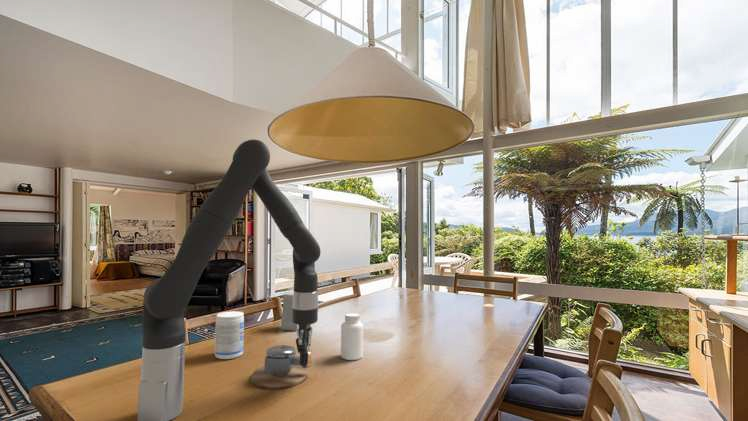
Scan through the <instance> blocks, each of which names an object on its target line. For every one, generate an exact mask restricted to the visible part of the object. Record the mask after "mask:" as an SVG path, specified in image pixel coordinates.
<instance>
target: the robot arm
mask: <svg viewBox="0 0 748 421" xmlns="http://www.w3.org/2000/svg"><path fill="white" fill-rule="evenodd" d="M270 160H271V153H270V149H269V146H267V144H265V143H264V142H263V141H261V140H259V139H248V140H244V141H243V142H241V143H240V144H239V145H238V147H236V149H235V151H234V152H233V155H232V161H231V164H230V165H229V167H228V169H227V171H226V173H225V175H224V176H223V178H222V179H221V180H220V181H219V183H218V184H217V185H216V186H215V188H213V190H212V191H211V192H210V193H209V195H208V196H207V197H206V198H205V200H204V201H203V203H202V204H201V205H200V207H199V208H198V209H197V211H196V213H195V214H194V216H193V217H192V219H191V221H190V223H189V225H188V227H187V229H186V231H185V233H184V236H183V238H182V240H181V243H180V246H179V249H178V252H177V254H176V256H175V258H174V259H173V261H172V262H171V264H170V266H169V267H168V268H167V269H166V271H165V273H164V274H163V275H162V276H161V277H160V278H157V279H154V280H153V281H152V282H150V283H149V284H148V285H147V286H146V288H145V290H144V294H143V300H142V301H143V302H142V307H143V308H142V328H141V329H142V352H141V353H142V354H141V368H140V369H141V372H140V374H141V375H140V382H139V383H138V395H137V396H138V398H137V399H138V401H137V418H136V419H137V421H171V420H174V419H176V418H177V417H179V416H180V415H181V414H182V413H183V411H184V384H185V379H184V378H185V359H186V358H185V357H186V356H185V355H186V354H185V353H186V336H187V333H186V332H187V331H186V325H185V310H186V308H187V306H188V305H189V303H190V300H191V298H192V295H193V293H194V291H195V289H196V287H197V284H198V282H199V280H200V278H201V276H202V274H203V273H204V270H205V269H206V267H207V266H208V264H210V261H211V260H212V258H213V257H214V255H215V254H216V253H217V251H218V249H219V248H220V246H221V244H222V243H223V241H224V240H225V238H226V236H227V234H228V233H229V231H230V230H231V228H232V226H233V224H234V222H235V220H236V218H238V217H237V216H238V215H239V212H240V210H241V209H242V207H243V206H244V205H243V204H244V202H245V200H246V198H247V196H248V194H249V192H250V190H251V189H252V190H253V191H254V192H255V194H256V195H257V196H258V197H259V199H260V201H261V202H262V204H263V205H264V206H265V209H266V210H267V212H268V213H269V215H270V216H271V219H272V220H273V222H274V223H275V225H276V226H277V228H278V229H279V231H280V233H281V234H282V236H283V237H284V238H285V239H286V240H288V242H289V244H290V245H291V247H292V265H293V266H292V267H293V272H294V274H293V275H294V278H293V293H294V294H293V307H292V322H293V323H295V324H298V325H299V329H297V331H296V337H297V338H296V339H295V344H296V349H297V350H296V351H297V353H299V357H300V365H301V366H306V365H307V364H308V351H310V347H311V342H312V336H313V326H312V324H316V323H317V322H318V319H319V318H318V316H319V315H318V313H319V295H318V294H319V293H318V282H319V281H318V280H319V278H318V273H317V271H316V269H315V268H316V265H315V264H316V262H317V261H318V260H319V259H320V257H321V251H322V250H321V247H320V244H319V243H318V241H317V240H316V238H315V237H314V235H313V234H312V233H311V231H310V230H309V229H308V228H307V226H306V225H305V224H304V221H303V219H302V218H301V216H300V214H299V213H298V211H297V210H296V208H295V207H294V204H292V202H291V201H290V200H289V199H288V197H287V196H286V195H285V194H284V193H283V192H282V190H280V188H278V186H277V185H276V183H275V181H274V180H273V179H272V177H271V175H270V173H269V171H268V168H267V167H268V166H269V163H270V162H271V161H270ZM311 326H312V327H311Z"/></svg>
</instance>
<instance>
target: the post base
mask: <svg viewBox="0 0 748 421" xmlns="http://www.w3.org/2000/svg"><path fill="white" fill-rule="evenodd" d="M264 368H265V365H264V366H261V367H260V368H258V369H257V368H256V369H255V371H253V372H252V374H251V375H250V376H251V377H250V378H251V379H250V381H251V383H252V385H254V386H256V387H257V388H260V389H266V390H267V389H268V390H281V389H288V388H292V387H296V386H298V385H300V384H302V383H304V382H305V381H306V380H307V379H308V377H309V370H308V368H303V367H302V366H301V365H294V366H293V367H292V369H291V371H290V372H264Z"/></svg>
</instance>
